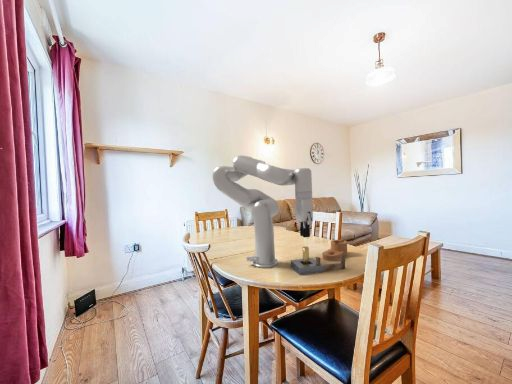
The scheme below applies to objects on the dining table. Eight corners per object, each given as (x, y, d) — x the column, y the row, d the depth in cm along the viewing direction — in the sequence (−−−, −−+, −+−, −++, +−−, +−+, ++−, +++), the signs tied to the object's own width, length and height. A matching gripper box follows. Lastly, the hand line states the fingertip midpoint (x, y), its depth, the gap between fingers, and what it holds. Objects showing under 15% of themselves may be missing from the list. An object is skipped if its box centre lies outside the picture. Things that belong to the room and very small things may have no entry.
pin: (304, 270, 105) (303, 248, 104) (302, 268, 107) (301, 246, 107) (310, 269, 105) (309, 247, 105) (308, 267, 108) (307, 246, 108)
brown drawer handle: (317, 272, 102) (316, 258, 102) (315, 270, 104) (314, 257, 104) (346, 268, 104) (346, 255, 104) (343, 267, 106) (343, 254, 106)
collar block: (299, 274, 100) (299, 268, 100) (290, 266, 110) (290, 260, 110) (323, 272, 102) (323, 265, 102) (312, 263, 113) (312, 257, 112)
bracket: (335, 251, 132) (334, 239, 132) (349, 253, 127) (349, 241, 126) (319, 259, 120) (318, 246, 119) (334, 262, 114) (334, 248, 114)
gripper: (289, 195, 112) (291, 233, 113) (302, 197, 97) (304, 241, 97) (304, 194, 114) (305, 232, 114) (319, 196, 98) (321, 239, 99)
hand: (305, 236), depth 106 cm, fingers closed
